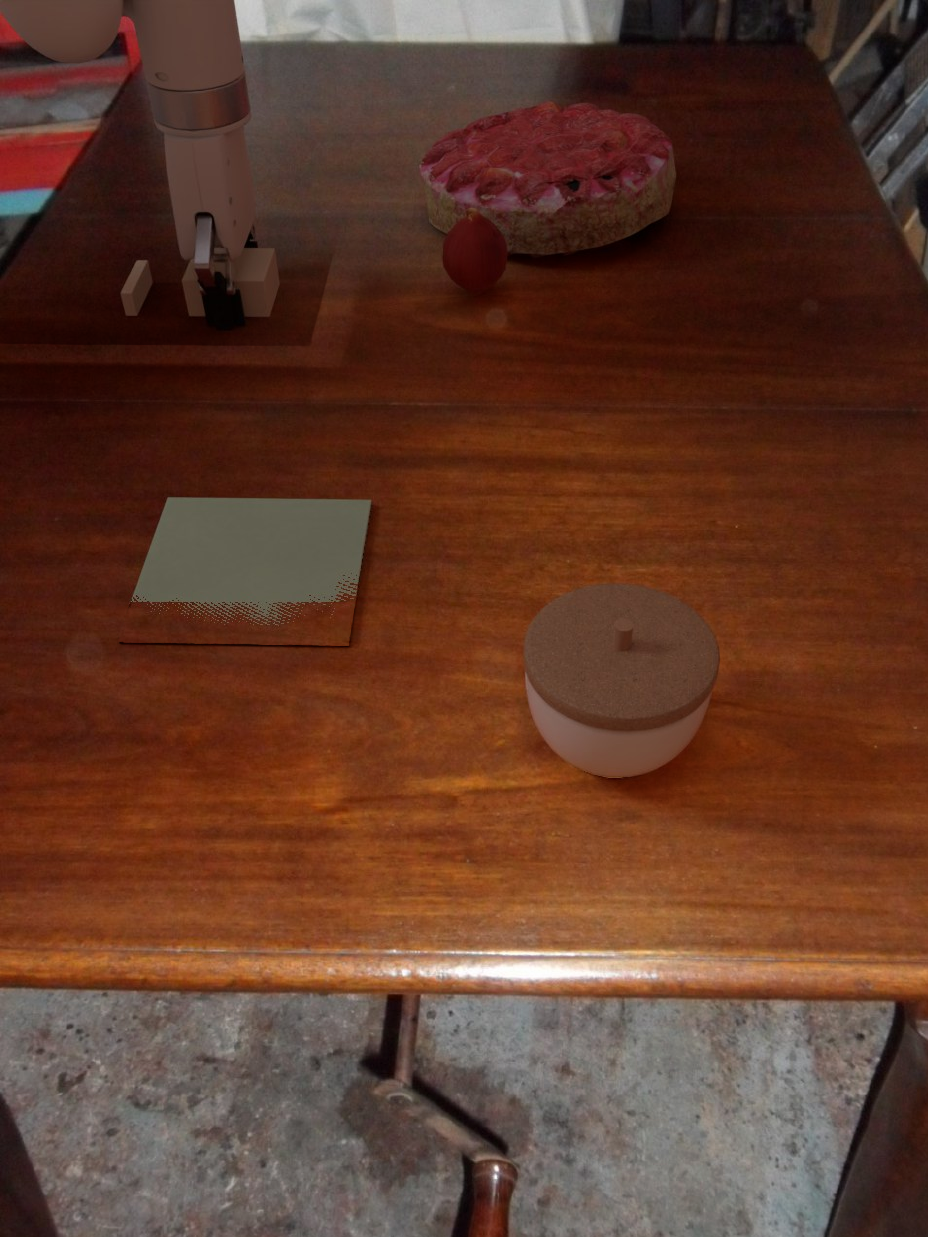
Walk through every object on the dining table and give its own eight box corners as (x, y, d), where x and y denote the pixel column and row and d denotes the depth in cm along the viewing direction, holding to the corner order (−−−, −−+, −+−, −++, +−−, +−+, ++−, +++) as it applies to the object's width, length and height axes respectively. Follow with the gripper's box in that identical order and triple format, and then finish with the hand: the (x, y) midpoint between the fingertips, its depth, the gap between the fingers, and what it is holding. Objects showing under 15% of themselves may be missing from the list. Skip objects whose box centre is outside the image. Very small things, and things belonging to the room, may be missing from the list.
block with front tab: (130, 336, 101) (116, 279, 97) (146, 302, 105) (133, 246, 101) (301, 337, 101) (293, 281, 97) (310, 303, 105) (303, 248, 101)
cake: (721, 233, 111) (727, 146, 106) (477, 288, 106) (470, 200, 101) (614, 152, 128) (614, 74, 123) (399, 197, 123) (390, 117, 118)
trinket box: (523, 811, 65) (526, 698, 58) (519, 675, 72) (521, 560, 65) (713, 810, 65) (739, 696, 58) (690, 674, 72) (710, 558, 65)
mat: (118, 643, 75) (117, 639, 74) (168, 501, 85) (167, 497, 85) (349, 647, 74) (348, 642, 74) (371, 503, 84) (371, 499, 84)
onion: (476, 272, 109) (475, 187, 103) (520, 293, 106) (521, 207, 100) (431, 294, 106) (427, 207, 100) (474, 316, 103) (473, 228, 97)
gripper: (175, 60, 95) (214, 262, 108) (124, 144, 84) (174, 360, 96) (265, 60, 95) (293, 262, 108) (227, 144, 83) (263, 361, 96)
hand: (237, 308), depth 102 cm, fingers open, 8 cm apart
